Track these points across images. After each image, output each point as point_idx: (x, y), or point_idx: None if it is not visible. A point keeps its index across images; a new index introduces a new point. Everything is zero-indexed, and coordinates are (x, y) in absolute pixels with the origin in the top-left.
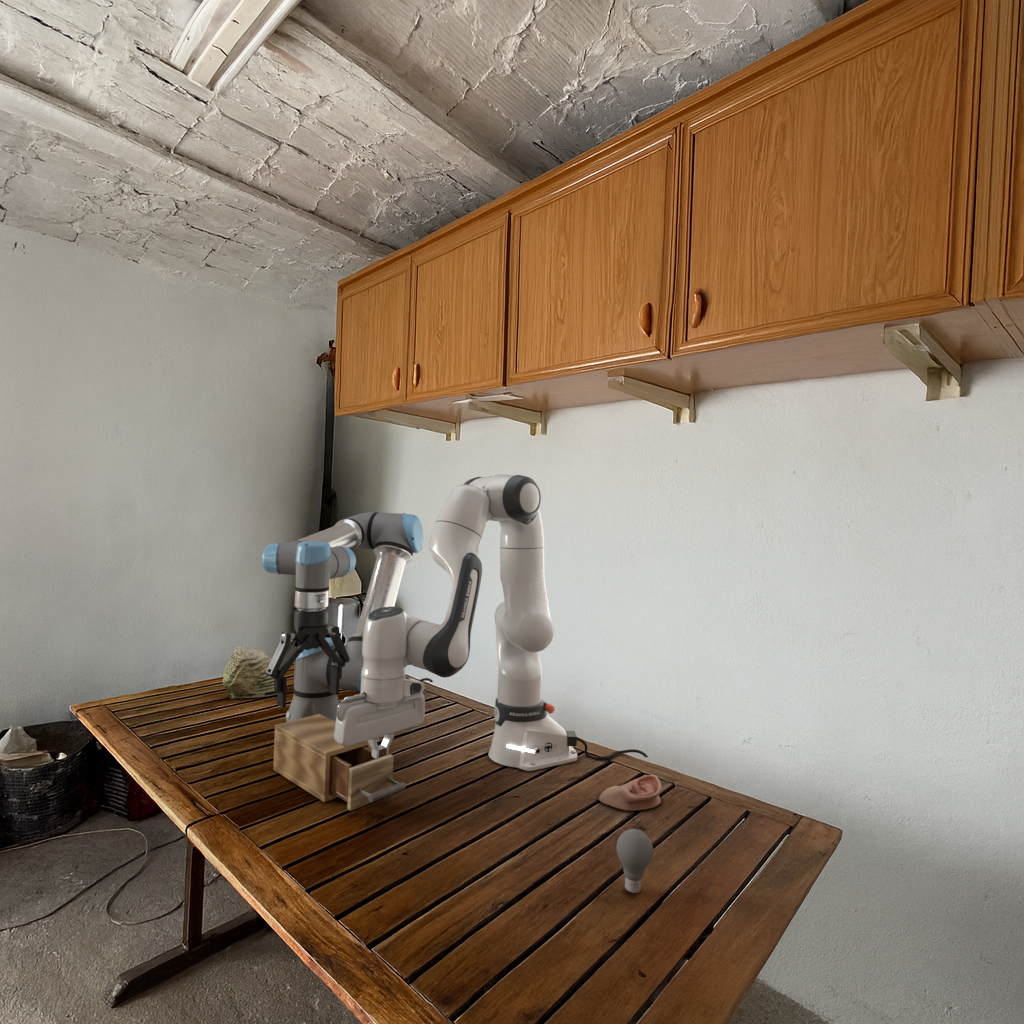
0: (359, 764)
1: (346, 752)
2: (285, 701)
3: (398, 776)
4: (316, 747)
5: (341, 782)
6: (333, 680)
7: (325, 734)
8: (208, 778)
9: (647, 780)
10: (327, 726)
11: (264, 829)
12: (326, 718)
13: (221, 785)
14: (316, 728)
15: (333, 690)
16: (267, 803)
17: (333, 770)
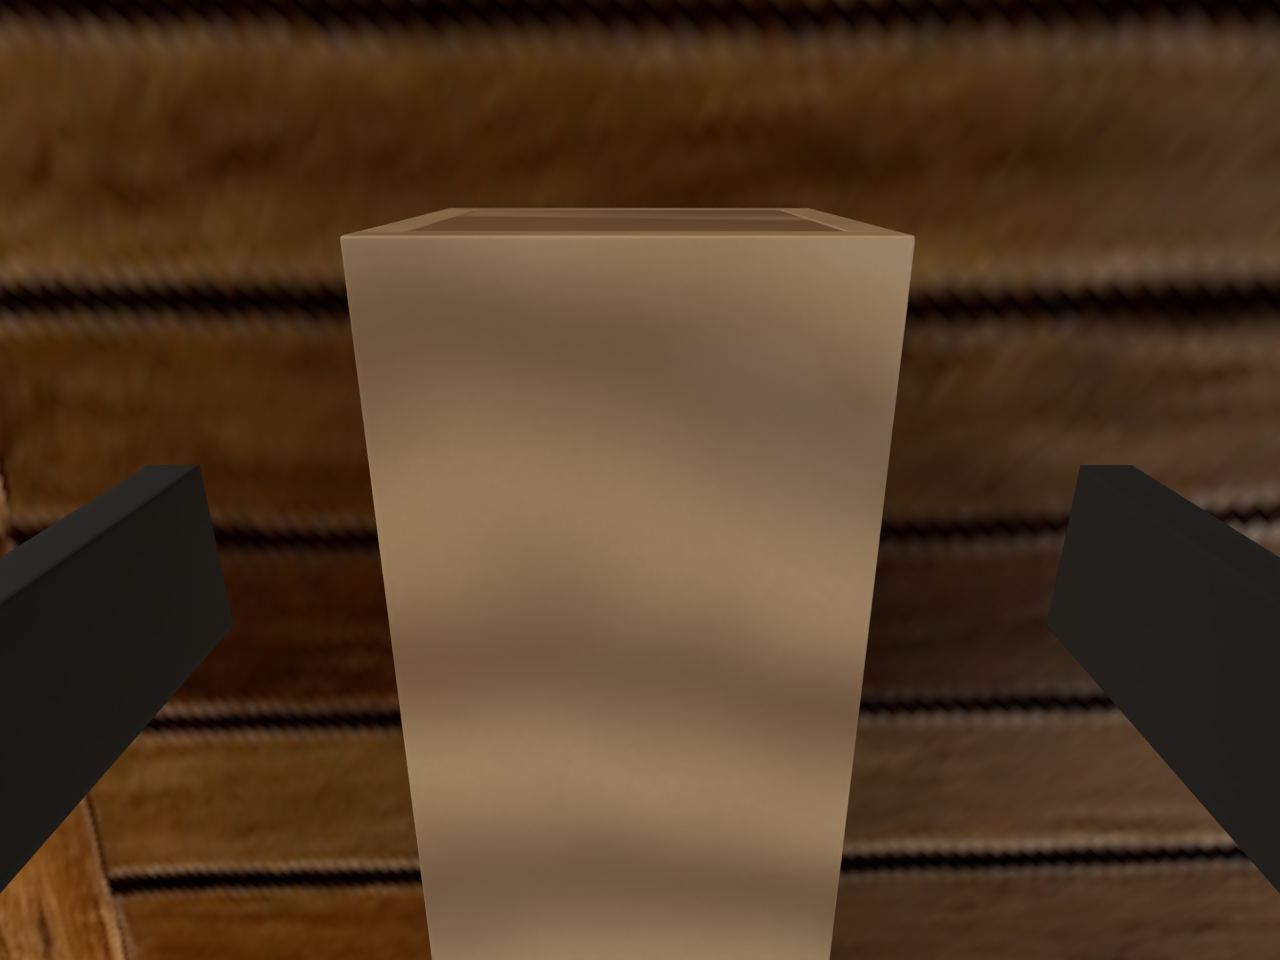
0: None
1: None
2: (182, 673)
3: (946, 762)
4: (425, 896)
5: None
6: (1192, 677)
7: (614, 748)
8: (12, 13)
9: None
10: (739, 611)
11: (164, 786)
12: (871, 422)
13: (76, 201)
14: (631, 594)
15: (1086, 586)
16: (254, 594)
17: None
